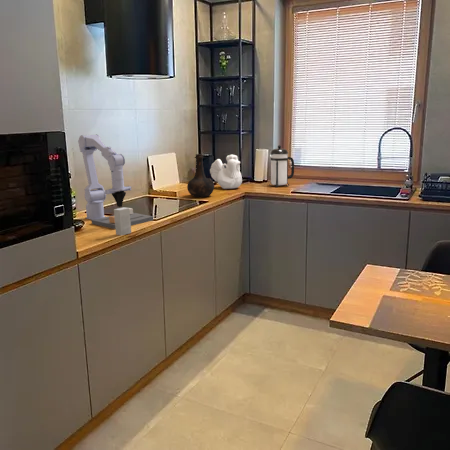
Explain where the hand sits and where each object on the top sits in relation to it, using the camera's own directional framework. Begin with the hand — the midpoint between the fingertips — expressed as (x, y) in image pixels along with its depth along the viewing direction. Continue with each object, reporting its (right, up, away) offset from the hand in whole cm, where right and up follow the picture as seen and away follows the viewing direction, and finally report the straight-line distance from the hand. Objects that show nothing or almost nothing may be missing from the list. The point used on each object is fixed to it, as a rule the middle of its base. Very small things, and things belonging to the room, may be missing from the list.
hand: (119, 206), depth 230 cm
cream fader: (+1, -3, +17) cm, 17 cm away
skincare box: (+5, -13, -15) cm, 21 cm away
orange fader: (-2, -8, -1) cm, 8 cm away
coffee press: (+94, +20, +114) cm, 149 cm away
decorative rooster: (+54, +18, +109) cm, 123 cm away
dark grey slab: (0, -8, +9) cm, 11 cm away
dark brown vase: (+36, +10, +78) cm, 86 cm away
